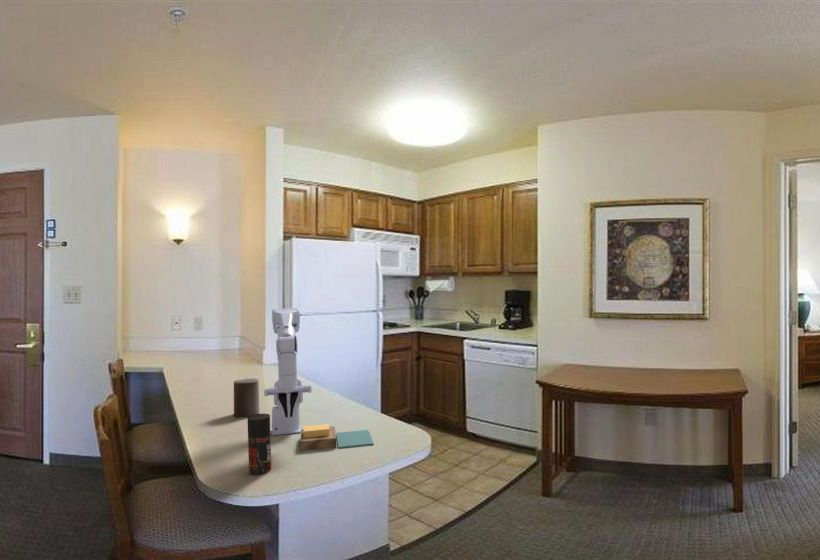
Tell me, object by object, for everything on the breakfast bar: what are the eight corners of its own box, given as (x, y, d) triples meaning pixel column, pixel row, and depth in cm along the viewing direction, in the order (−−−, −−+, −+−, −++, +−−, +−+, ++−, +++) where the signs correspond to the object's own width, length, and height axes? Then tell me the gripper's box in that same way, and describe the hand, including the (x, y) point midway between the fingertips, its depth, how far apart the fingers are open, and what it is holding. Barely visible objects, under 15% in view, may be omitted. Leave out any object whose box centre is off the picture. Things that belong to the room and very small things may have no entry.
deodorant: (252, 467, 129) (250, 414, 129) (273, 465, 130) (272, 413, 130) (246, 475, 123) (244, 420, 123) (268, 474, 124) (267, 419, 124)
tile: (303, 437, 144) (303, 431, 144) (304, 432, 149) (304, 426, 149) (329, 435, 145) (329, 429, 145) (328, 430, 151) (328, 423, 151)
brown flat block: (300, 451, 140) (300, 441, 140) (301, 438, 152) (301, 429, 152) (336, 447, 143) (336, 438, 143) (334, 435, 154) (334, 426, 154)
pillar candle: (239, 419, 177) (238, 380, 177) (230, 414, 184) (229, 377, 184) (263, 414, 183) (263, 377, 183) (253, 409, 191) (253, 373, 191)
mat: (338, 448, 142) (338, 446, 142) (336, 434, 155) (336, 432, 155) (373, 444, 144) (373, 443, 144) (368, 431, 158) (368, 429, 158)
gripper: (262, 378, 140) (263, 422, 140) (310, 374, 143) (312, 417, 143) (265, 373, 147) (266, 415, 147) (310, 370, 150) (312, 411, 150)
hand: (289, 416), depth 146 cm, fingers closed
